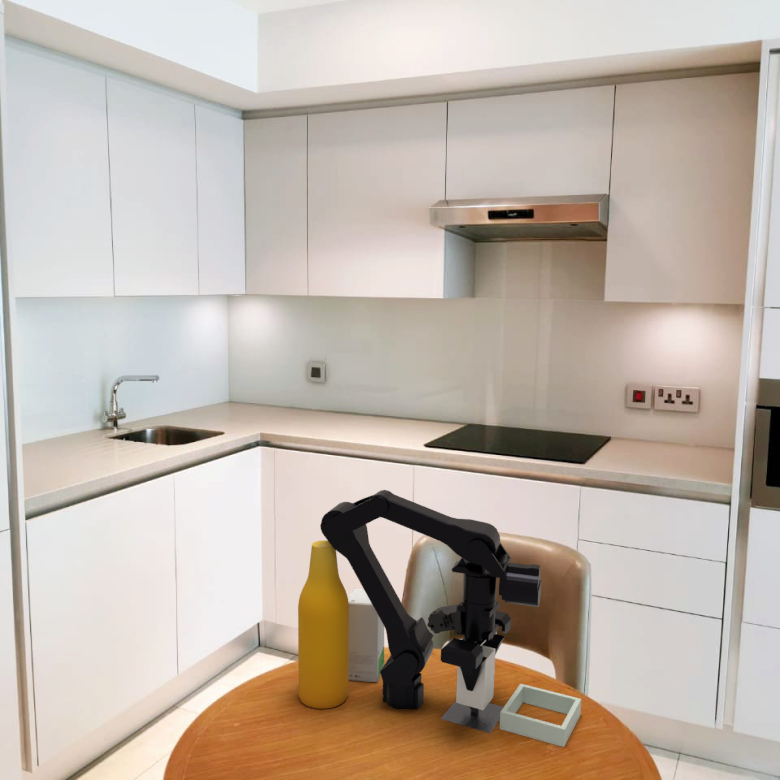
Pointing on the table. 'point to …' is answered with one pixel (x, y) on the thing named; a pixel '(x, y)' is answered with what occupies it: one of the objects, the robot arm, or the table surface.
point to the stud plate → (474, 716)
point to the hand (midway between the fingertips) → (475, 683)
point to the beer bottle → (323, 632)
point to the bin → (538, 727)
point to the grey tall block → (478, 684)
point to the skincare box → (364, 639)
